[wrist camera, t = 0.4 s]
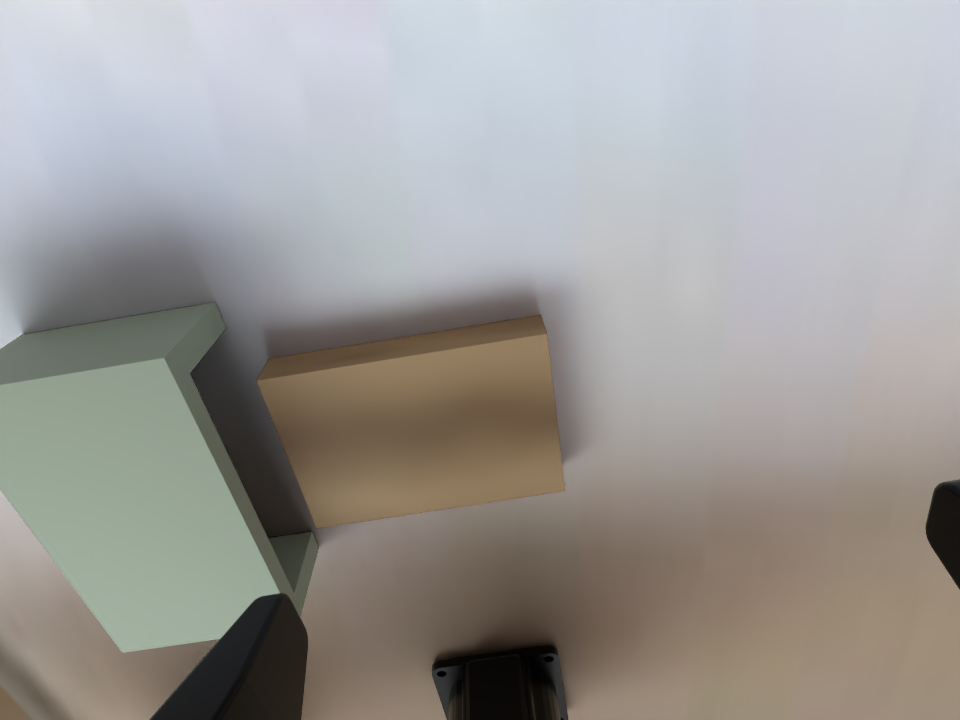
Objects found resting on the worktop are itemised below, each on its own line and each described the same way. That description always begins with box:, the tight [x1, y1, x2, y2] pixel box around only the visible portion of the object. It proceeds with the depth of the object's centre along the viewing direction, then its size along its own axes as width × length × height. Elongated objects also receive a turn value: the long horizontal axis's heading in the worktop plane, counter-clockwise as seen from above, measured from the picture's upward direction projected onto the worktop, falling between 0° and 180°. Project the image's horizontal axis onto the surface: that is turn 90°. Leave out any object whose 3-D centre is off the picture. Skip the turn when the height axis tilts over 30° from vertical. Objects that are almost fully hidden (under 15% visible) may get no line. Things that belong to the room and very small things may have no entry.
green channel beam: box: [0, 302, 319, 653], centre depth 21 cm, size 12×7×4 cm, turn 9°
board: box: [256, 315, 565, 528], centre depth 22 cm, size 7×10×2 cm
